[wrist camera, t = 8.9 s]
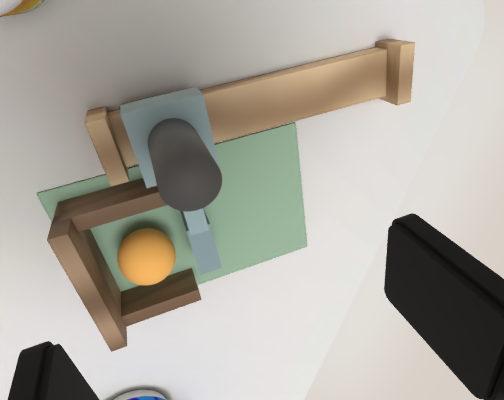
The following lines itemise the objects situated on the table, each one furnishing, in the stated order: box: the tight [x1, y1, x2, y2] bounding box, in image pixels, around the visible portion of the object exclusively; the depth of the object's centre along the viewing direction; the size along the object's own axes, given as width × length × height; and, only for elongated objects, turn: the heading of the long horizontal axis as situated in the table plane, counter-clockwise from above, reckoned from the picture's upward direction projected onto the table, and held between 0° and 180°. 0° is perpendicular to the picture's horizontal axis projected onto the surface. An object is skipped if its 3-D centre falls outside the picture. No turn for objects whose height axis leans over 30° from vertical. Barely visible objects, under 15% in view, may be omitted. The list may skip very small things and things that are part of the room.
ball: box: [117, 228, 176, 285], centre depth 28 cm, size 4×4×4 cm
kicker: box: [120, 87, 222, 275], centre depth 24 cm, size 14×5×10 cm, turn 9°
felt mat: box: [37, 122, 307, 291], centre depth 31 cm, size 13×20×1 cm, turn 99°
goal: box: [47, 178, 201, 352], centre depth 28 cm, size 11×8×5 cm
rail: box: [85, 39, 415, 186], centre depth 26 cm, size 4×23×3 cm, turn 99°
